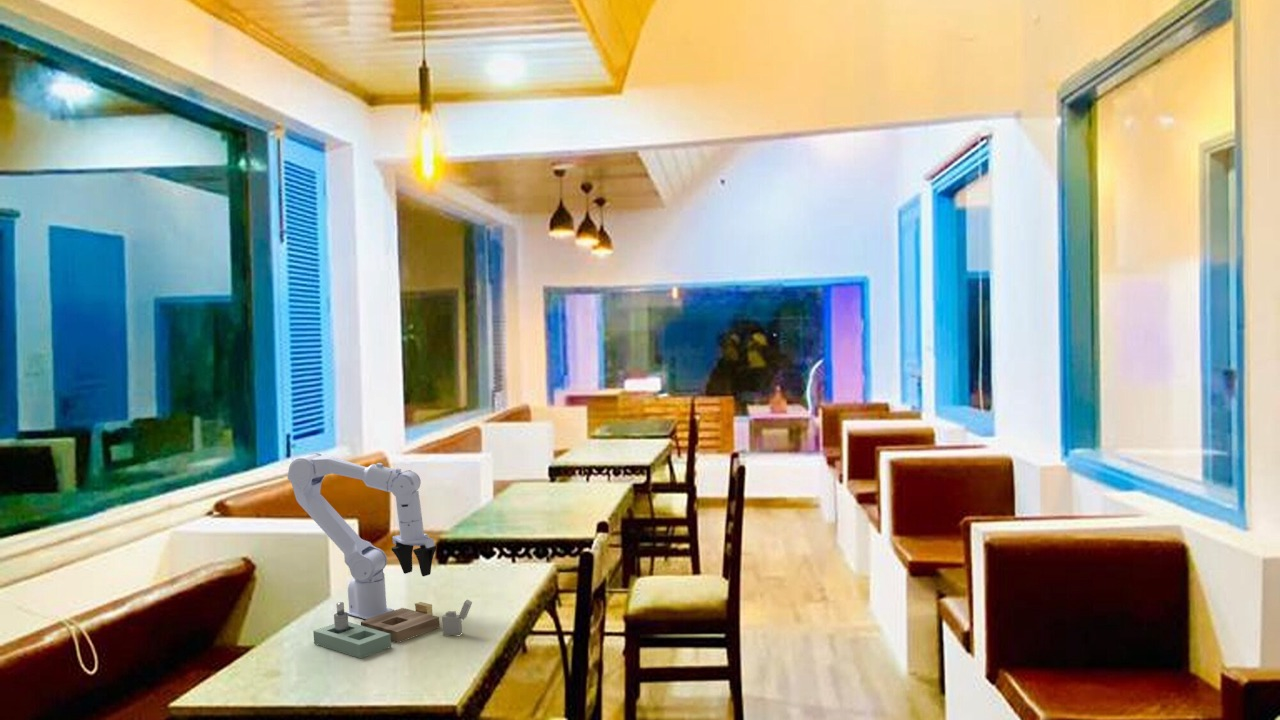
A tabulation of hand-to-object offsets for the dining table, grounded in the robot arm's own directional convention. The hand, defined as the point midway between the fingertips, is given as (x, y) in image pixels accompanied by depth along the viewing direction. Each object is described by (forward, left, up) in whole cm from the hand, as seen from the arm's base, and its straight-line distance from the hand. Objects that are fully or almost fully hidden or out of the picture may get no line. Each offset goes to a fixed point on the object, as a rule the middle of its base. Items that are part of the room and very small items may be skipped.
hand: (417, 573), depth 230 cm
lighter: (+22, -6, -10) cm, 25 cm away
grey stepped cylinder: (+2, -23, -10) cm, 25 cm away
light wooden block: (+7, -6, -10) cm, 13 cm away
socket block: (+7, -11, -10) cm, 16 cm away
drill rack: (+6, -23, -10) cm, 26 cm away
